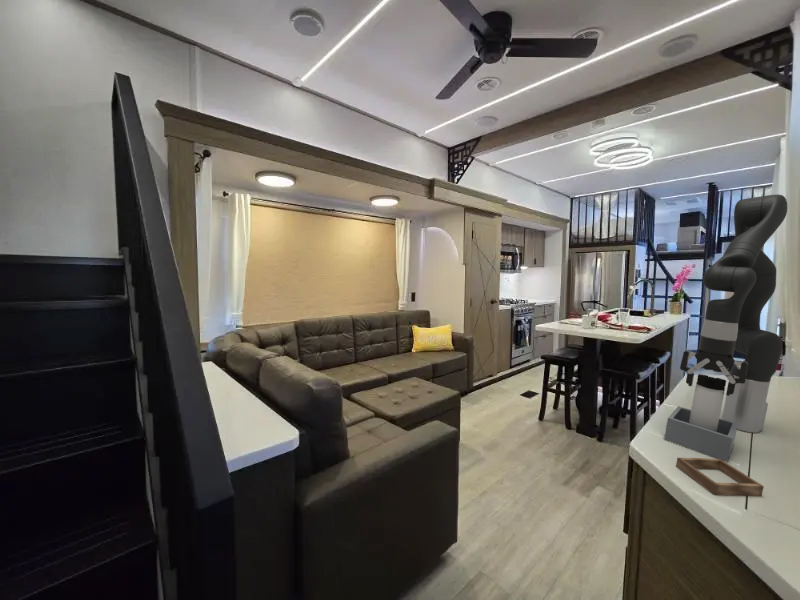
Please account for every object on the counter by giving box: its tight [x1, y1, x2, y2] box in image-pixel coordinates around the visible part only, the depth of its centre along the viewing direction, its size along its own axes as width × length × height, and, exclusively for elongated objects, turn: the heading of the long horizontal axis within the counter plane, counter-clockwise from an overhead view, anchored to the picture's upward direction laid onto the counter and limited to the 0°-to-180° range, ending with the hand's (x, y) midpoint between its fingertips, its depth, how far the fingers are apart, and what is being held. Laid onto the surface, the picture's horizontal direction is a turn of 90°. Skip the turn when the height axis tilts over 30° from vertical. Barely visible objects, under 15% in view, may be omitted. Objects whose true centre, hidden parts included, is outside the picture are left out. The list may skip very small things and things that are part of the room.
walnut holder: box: [675, 457, 765, 497], centre depth 85 cm, size 12×11×2 cm
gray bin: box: [663, 405, 738, 463], centre depth 102 cm, size 14×14×7 cm
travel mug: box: [689, 373, 727, 432], centre depth 101 cm, size 6×7×20 cm
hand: (708, 390), depth 100 cm, fingers open, 8 cm apart
